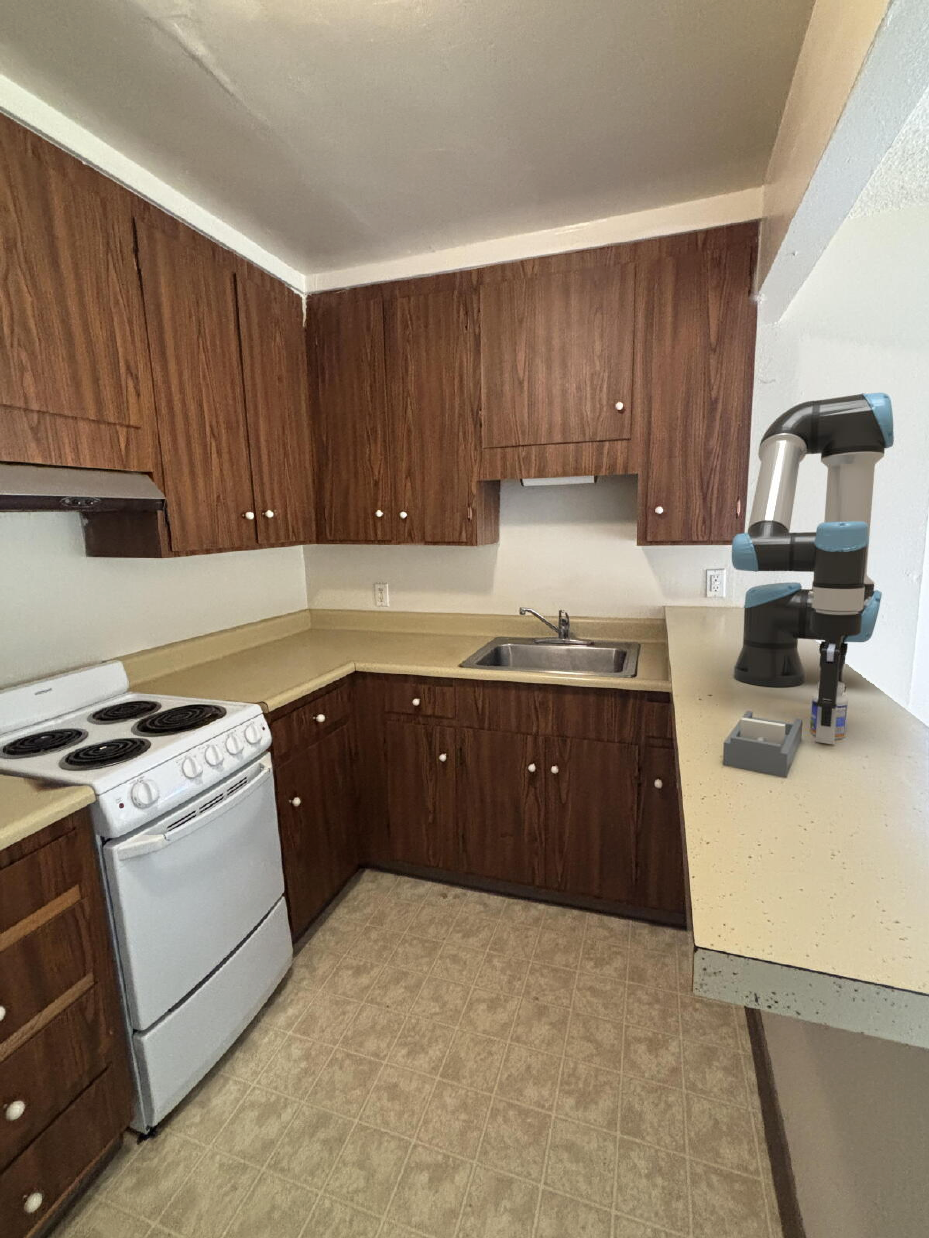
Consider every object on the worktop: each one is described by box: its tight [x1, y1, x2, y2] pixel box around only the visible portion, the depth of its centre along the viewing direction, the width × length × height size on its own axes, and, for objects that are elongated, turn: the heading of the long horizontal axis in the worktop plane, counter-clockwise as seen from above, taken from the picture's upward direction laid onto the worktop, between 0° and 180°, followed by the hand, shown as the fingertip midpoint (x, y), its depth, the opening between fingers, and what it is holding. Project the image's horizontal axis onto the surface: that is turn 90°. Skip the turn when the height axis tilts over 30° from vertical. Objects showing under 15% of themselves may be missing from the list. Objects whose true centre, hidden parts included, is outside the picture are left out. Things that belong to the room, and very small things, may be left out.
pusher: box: [740, 716, 785, 749], centre depth 92 cm, size 5×6×5 cm
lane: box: [722, 710, 804, 778], centre depth 95 cm, size 18×9×5 cm, turn 143°
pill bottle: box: [809, 680, 849, 740], centre depth 101 cm, size 5×5×10 cm
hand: (827, 733), depth 102 cm, fingers open, 9 cm apart
